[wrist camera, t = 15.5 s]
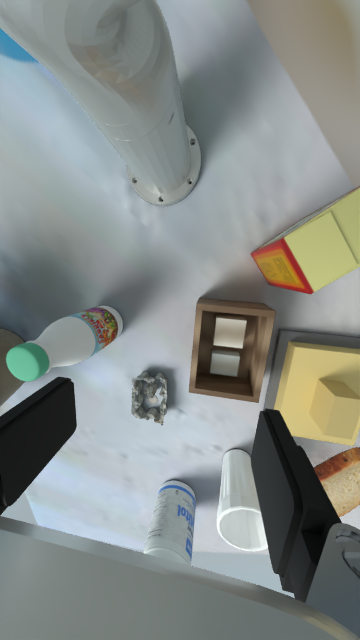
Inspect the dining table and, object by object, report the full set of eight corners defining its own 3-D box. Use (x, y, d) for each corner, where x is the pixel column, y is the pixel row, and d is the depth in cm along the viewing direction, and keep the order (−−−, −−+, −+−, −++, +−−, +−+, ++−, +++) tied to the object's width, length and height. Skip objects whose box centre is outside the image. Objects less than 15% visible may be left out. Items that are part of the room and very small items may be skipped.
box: (199, 298, 38) (196, 303, 32) (264, 303, 37) (275, 311, 30) (192, 373, 42) (188, 392, 36) (250, 381, 41) (258, 402, 34)
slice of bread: (373, 445, 41) (389, 462, 37) (369, 512, 44) (383, 534, 41) (279, 445, 44) (285, 461, 40) (283, 508, 48) (289, 528, 44)
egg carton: (167, 414, 46) (163, 428, 42) (136, 409, 47) (129, 421, 43) (170, 373, 43) (166, 383, 39) (137, 368, 44) (130, 377, 40)
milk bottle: (109, 347, 44) (30, 405, 25) (83, 322, 43) (-18, 362, 24) (131, 323, 42) (63, 367, 22) (104, 297, 41) (11, 319, 22)
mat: (279, 329, 38) (281, 330, 37) (380, 339, 35) (384, 341, 34) (260, 423, 43) (261, 426, 42) (347, 437, 40) (350, 441, 40)
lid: (288, 341, 37) (309, 359, 29) (370, 350, 35) (415, 372, 27) (271, 421, 41) (285, 456, 33) (343, 433, 39) (375, 472, 32)
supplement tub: (203, 495, 50) (201, 584, 36) (179, 513, 52) (168, 603, 38) (174, 471, 49) (159, 552, 35) (151, 490, 52) (129, 572, 38)
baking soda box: (302, 219, 33) (383, 172, 17) (321, 253, 34) (414, 237, 18) (250, 253, 35) (280, 239, 20) (268, 284, 36) (312, 294, 21)
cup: (268, 467, 45) (291, 543, 32) (230, 482, 47) (237, 558, 35) (244, 434, 44) (257, 499, 31) (206, 451, 46) (204, 517, 34)
